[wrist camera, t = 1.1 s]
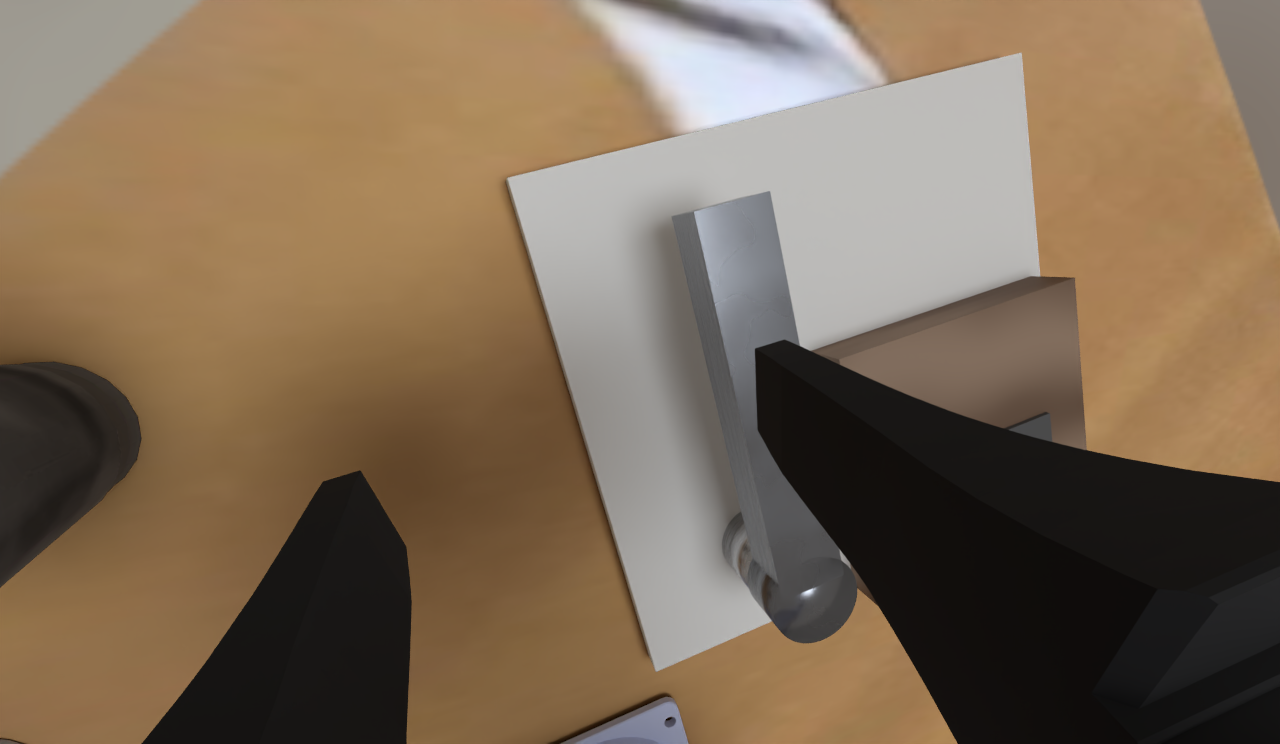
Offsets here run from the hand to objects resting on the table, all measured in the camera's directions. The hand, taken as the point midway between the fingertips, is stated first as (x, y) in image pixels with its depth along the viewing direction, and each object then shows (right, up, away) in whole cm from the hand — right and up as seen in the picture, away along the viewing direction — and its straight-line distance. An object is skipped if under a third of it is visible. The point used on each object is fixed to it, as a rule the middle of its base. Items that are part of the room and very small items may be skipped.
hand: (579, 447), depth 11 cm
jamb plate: (+9, +2, +14) cm, 17 cm away
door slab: (+14, -1, +16) cm, 22 cm away
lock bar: (+5, 0, +10) cm, 11 cm away
